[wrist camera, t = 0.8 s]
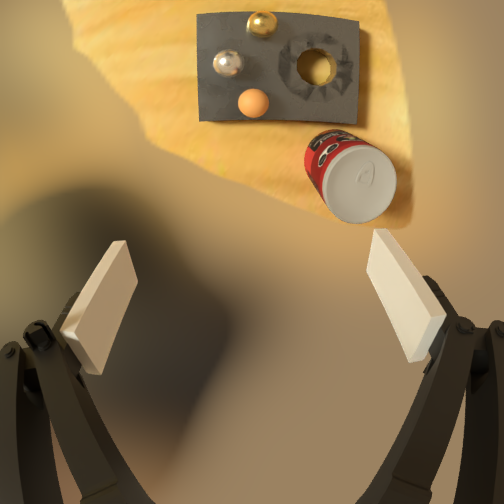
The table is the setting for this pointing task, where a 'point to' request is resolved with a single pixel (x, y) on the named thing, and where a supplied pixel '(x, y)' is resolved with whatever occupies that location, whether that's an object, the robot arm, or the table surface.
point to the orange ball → (253, 103)
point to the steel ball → (228, 63)
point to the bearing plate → (279, 67)
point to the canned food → (350, 176)
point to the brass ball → (262, 24)
